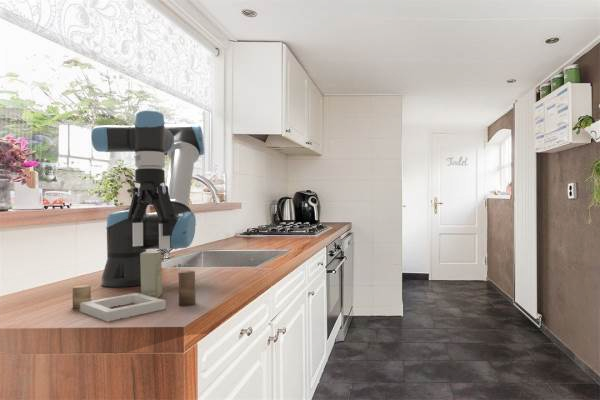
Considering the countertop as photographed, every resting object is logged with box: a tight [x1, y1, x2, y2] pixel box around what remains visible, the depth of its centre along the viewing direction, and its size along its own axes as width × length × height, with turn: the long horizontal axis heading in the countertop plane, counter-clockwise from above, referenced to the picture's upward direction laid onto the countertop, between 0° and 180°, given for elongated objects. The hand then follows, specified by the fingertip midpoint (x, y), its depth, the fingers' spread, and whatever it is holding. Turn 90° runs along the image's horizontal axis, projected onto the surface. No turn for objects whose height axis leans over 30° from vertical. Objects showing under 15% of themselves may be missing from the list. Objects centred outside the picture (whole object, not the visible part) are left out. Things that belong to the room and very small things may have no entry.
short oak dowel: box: [71, 284, 92, 310], centre depth 106 cm, size 4×4×5 cm
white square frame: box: [79, 292, 167, 322], centre depth 103 cm, size 14×14×2 cm
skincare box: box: [140, 250, 163, 299], centre depth 117 cm, size 6×4×12 cm
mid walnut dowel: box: [177, 270, 196, 307], centre depth 108 cm, size 4×4×8 cm
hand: (150, 247), depth 117 cm, fingers open, 13 cm apart
